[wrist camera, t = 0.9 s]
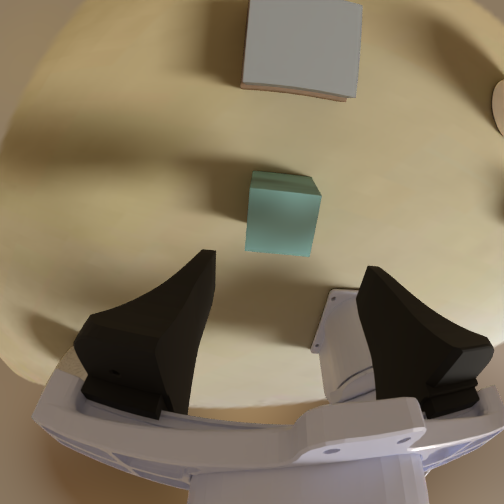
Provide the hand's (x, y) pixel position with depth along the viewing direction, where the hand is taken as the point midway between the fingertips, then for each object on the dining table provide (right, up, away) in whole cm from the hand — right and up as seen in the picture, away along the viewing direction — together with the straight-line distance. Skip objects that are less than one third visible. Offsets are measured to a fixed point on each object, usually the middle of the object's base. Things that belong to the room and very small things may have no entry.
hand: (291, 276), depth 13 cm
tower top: (+1, +14, +1) cm, 14 cm away
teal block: (0, +5, +9) cm, 11 cm away
